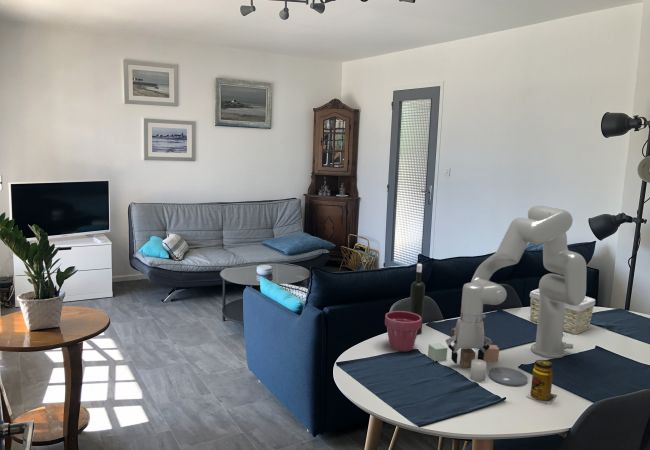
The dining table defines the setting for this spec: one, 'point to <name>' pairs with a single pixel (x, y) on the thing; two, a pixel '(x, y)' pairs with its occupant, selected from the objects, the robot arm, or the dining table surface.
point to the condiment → (542, 382)
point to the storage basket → (567, 313)
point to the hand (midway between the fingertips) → (467, 361)
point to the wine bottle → (417, 296)
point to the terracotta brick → (491, 353)
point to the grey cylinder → (478, 370)
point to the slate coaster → (507, 376)
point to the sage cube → (437, 352)
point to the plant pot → (402, 329)
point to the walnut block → (466, 357)
